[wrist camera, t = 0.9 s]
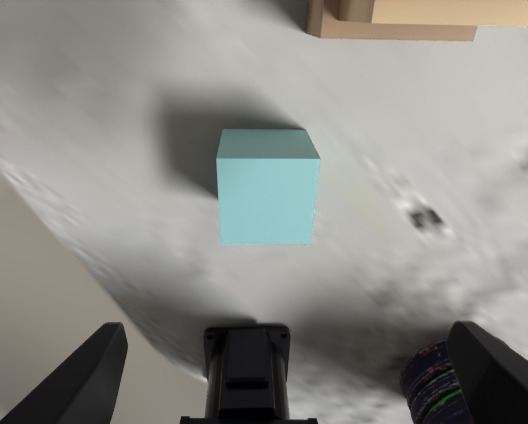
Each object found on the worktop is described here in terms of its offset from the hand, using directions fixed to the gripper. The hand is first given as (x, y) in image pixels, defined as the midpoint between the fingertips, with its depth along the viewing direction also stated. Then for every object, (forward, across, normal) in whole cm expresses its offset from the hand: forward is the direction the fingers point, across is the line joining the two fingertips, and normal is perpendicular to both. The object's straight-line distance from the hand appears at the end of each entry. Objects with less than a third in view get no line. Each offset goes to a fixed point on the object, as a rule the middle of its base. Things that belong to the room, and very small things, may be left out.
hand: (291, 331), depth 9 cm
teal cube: (+12, 0, 0) cm, 12 cm away
